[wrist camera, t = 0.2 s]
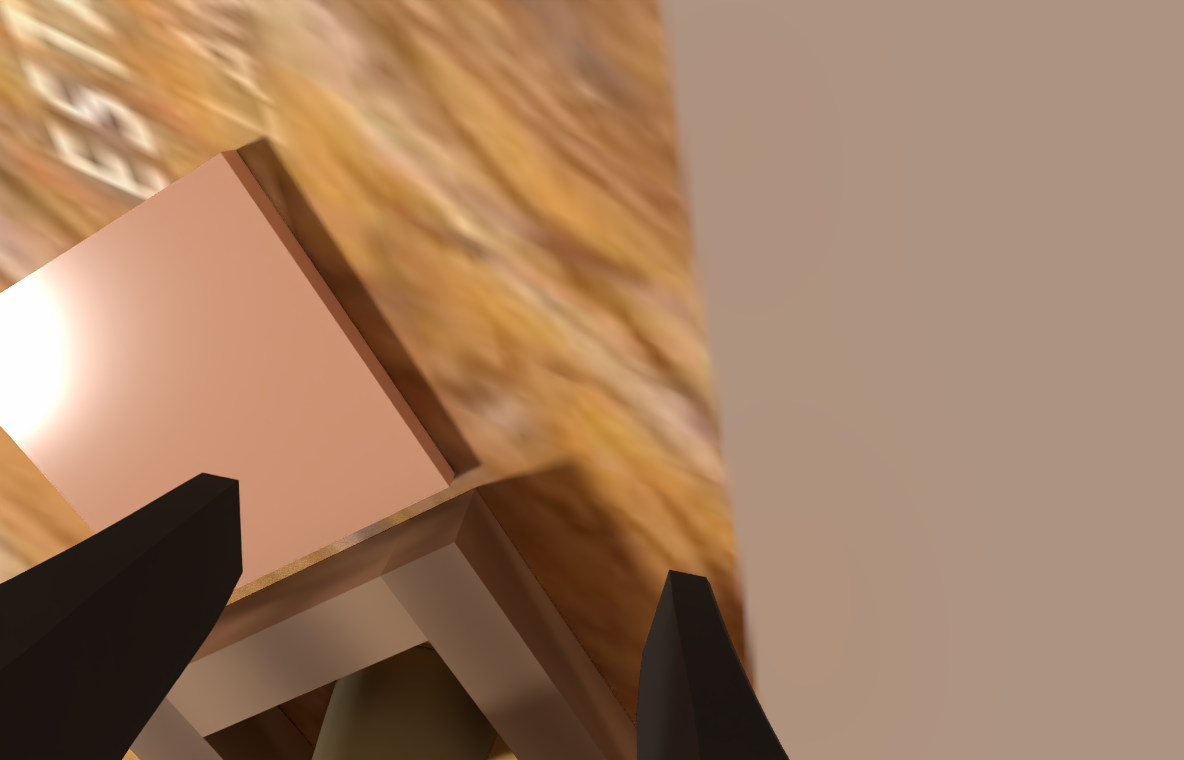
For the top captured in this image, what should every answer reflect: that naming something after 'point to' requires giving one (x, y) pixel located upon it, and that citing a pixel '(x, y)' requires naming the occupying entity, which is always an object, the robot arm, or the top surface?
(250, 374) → the terracotta tile
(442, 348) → the top surface
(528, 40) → the top surface
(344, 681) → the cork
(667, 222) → the top surface
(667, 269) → the top surface
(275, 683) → the walnut holder
